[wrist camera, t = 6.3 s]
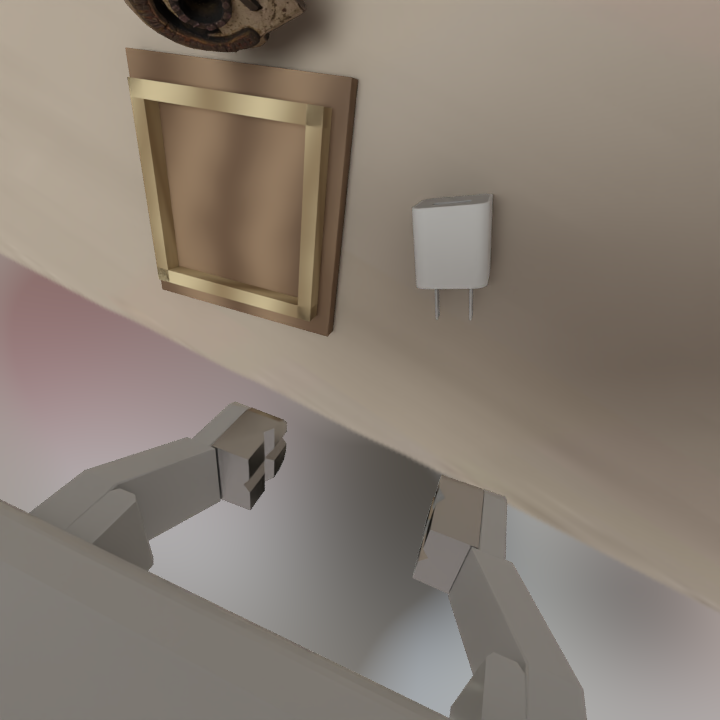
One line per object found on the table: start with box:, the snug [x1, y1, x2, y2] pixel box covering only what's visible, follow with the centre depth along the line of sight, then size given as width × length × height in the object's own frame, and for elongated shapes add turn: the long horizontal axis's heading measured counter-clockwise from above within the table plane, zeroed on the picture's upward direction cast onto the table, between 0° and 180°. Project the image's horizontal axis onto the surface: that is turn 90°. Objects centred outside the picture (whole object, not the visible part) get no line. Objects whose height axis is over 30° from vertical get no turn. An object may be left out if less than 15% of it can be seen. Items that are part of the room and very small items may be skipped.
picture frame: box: [126, 48, 358, 336], centre depth 27 cm, size 15×16×2 cm
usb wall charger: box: [412, 194, 493, 320], centre depth 23 cm, size 4×7×4 cm, turn 7°
